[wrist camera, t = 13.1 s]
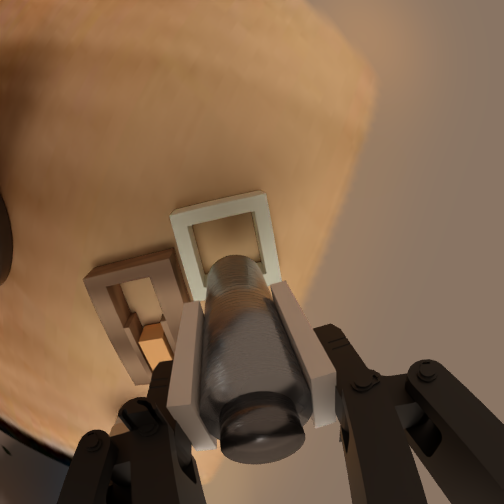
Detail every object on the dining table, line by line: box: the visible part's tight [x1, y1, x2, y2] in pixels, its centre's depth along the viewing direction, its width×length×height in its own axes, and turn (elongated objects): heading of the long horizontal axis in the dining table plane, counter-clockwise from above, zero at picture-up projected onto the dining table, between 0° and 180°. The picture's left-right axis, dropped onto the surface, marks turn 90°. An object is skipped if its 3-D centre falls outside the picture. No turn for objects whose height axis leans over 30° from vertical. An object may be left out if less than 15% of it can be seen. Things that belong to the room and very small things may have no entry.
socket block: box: [83, 248, 190, 385], centre depth 26 cm, size 14×9×3 cm, turn 11°
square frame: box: [169, 190, 282, 301], centre depth 25 cm, size 8×8×3 cm
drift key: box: [139, 323, 174, 370], centre depth 27 cm, size 10×4×4 cm, turn 11°
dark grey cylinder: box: [199, 255, 313, 464], centre depth 12 cm, size 4×4×12 cm
